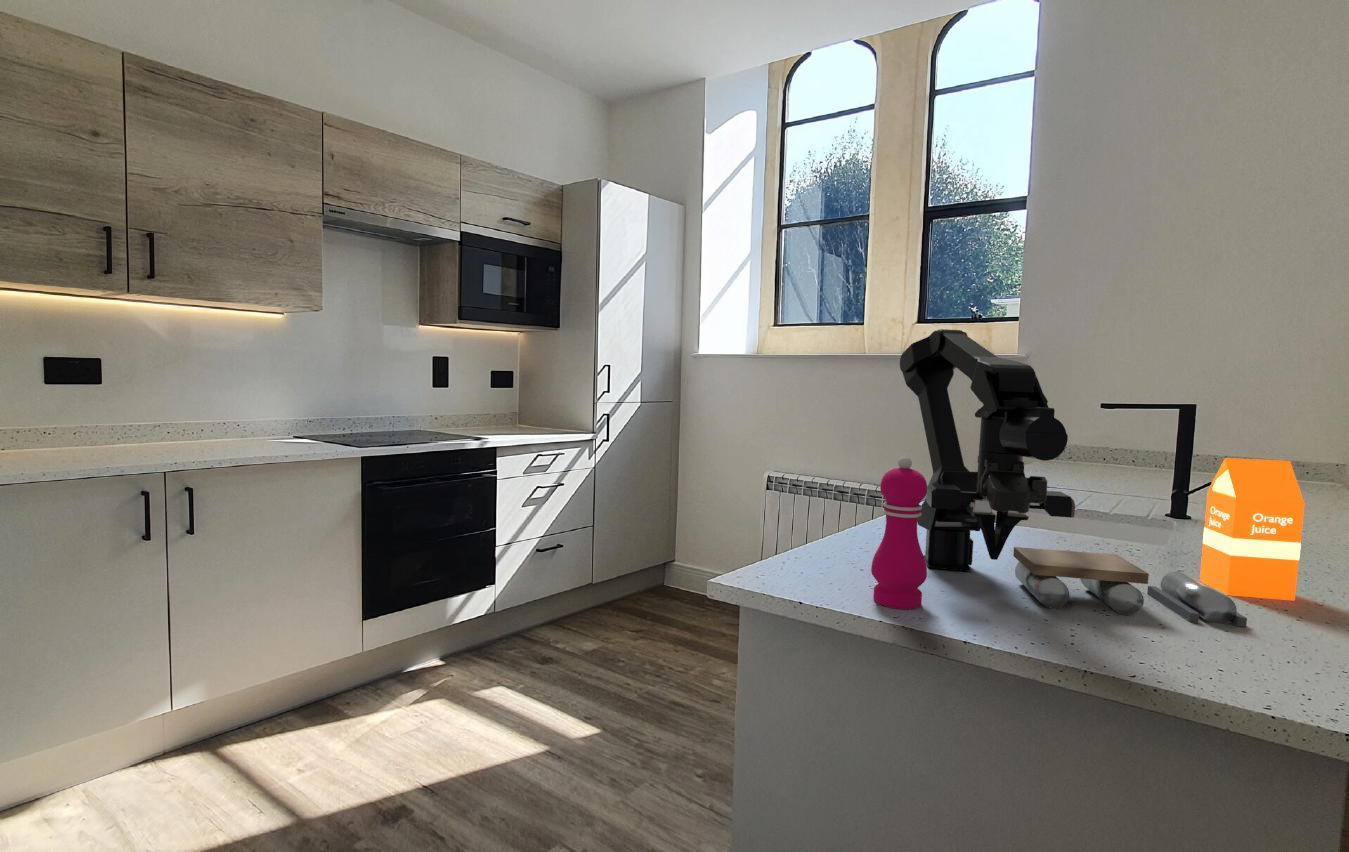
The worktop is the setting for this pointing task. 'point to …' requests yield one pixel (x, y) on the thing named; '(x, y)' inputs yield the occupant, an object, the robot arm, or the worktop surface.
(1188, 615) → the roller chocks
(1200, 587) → the loose roller
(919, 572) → the pepper mill
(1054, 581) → the track rollers
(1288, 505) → the orange juice
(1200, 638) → the worktop surface
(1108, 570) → the walnut slab
